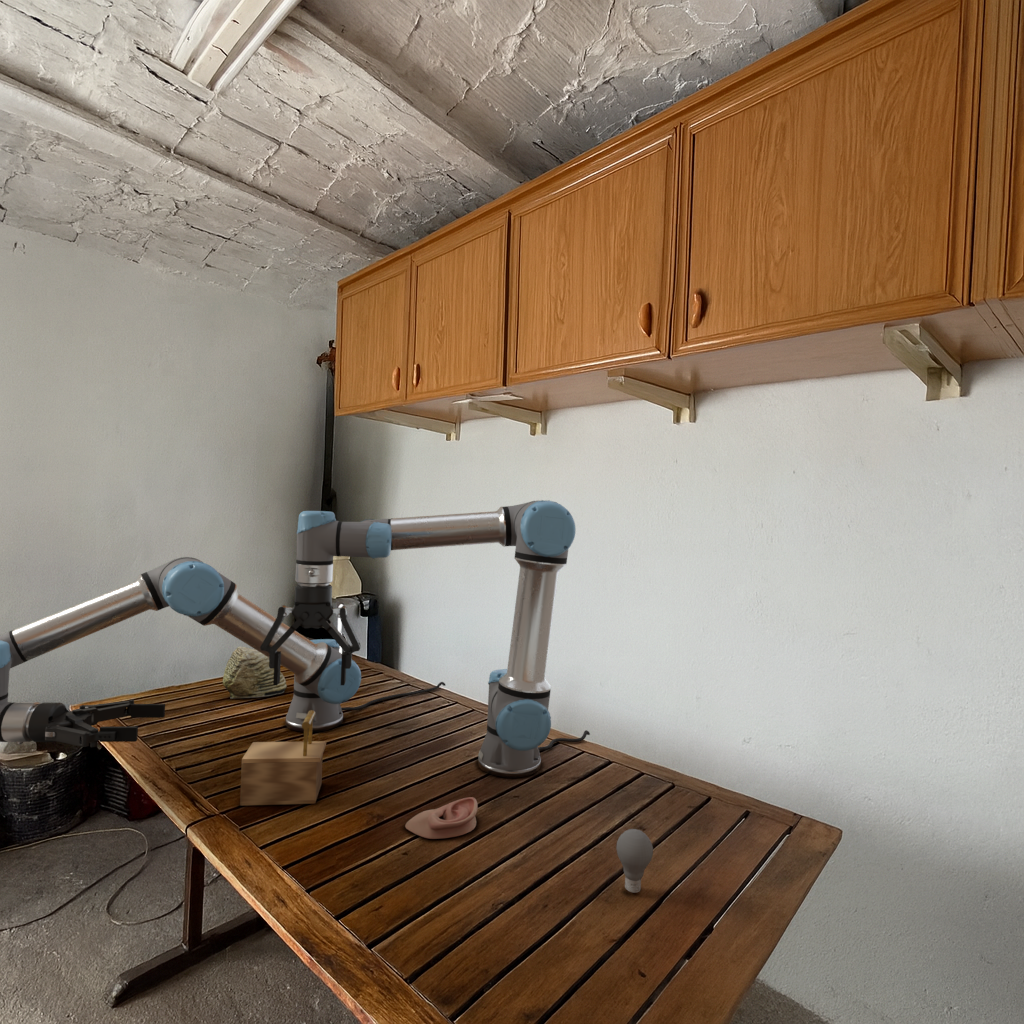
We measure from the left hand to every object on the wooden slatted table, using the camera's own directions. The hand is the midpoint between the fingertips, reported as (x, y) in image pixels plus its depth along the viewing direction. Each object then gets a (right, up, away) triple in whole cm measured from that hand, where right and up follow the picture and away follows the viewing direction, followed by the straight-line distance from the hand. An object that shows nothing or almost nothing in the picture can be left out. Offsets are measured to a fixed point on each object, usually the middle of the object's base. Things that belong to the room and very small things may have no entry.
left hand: (151, 721), depth 130 cm
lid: (+26, -8, +4) cm, 28 cm away
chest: (+25, -17, +4) cm, 31 cm away
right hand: (+31, +7, +5) cm, 32 cm away
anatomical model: (+60, -19, -6) cm, 63 cm away
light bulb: (+94, -20, -24) cm, 99 cm away
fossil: (-7, -14, +68) cm, 70 cm away
